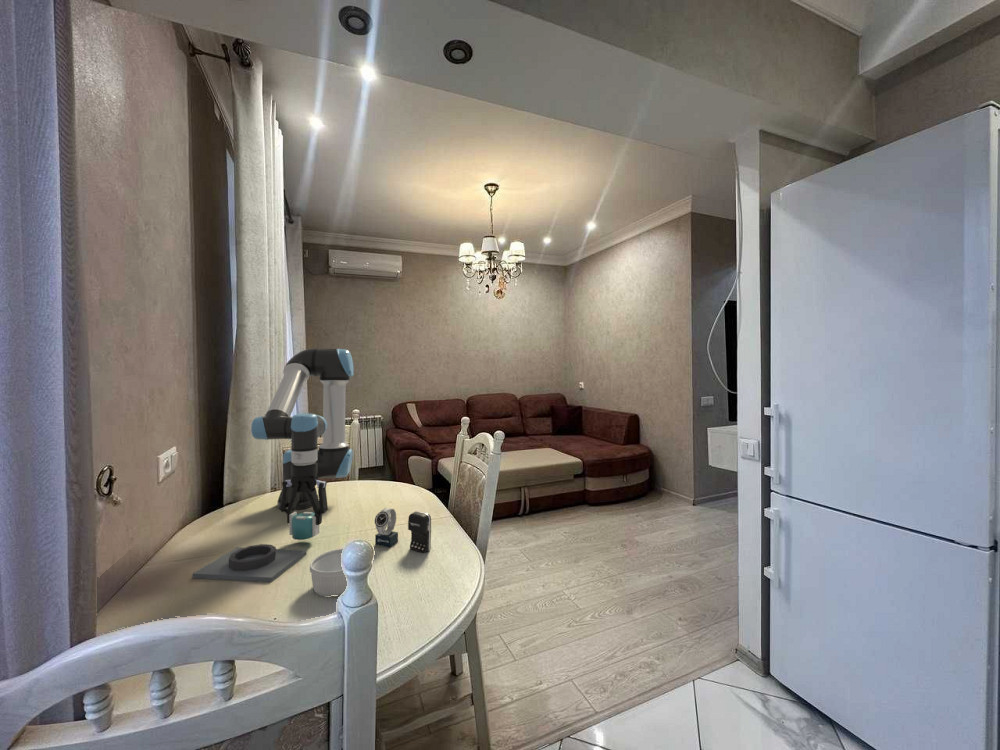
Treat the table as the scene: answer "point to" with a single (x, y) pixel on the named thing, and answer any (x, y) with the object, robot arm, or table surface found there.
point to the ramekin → (328, 574)
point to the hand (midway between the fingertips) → (304, 533)
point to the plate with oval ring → (251, 564)
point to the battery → (420, 531)
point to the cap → (302, 526)
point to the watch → (381, 522)
